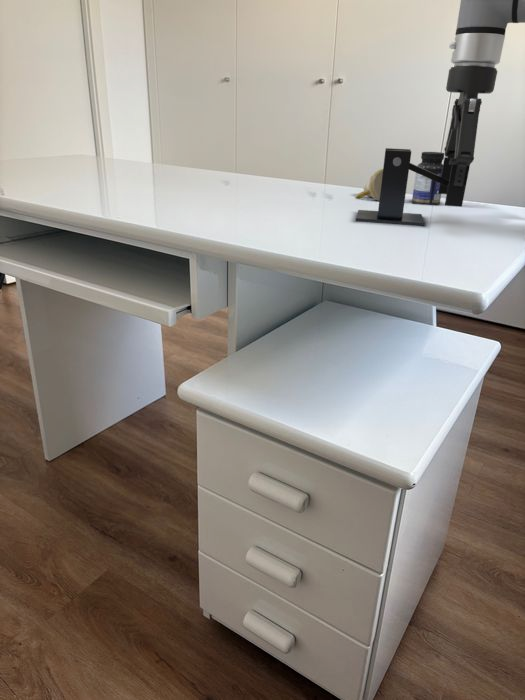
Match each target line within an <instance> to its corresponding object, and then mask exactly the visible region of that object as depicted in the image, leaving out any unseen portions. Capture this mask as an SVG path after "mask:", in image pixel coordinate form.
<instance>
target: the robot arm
mask: <svg viewBox="0 0 525 700" xmlns="http://www.w3.org/2000/svg"><path fill="white" fill-rule="evenodd" d="M458 9H459V10H458V17H457V22H456V30H455V36H454V41H451V42H450V43H449V46H448V47H449V49H451V50H453V51H452V52H451V59H450V62H451V64H453V66H451V67H450V69H449V70H448V75H447V80H446V86H445V90H446V91H447V92H448V93H457V94H458V93H459V96H458V98H455V100H454V102H453V106H452V109H451V119H450V124H449V125H450V126H449V129H448V134H447V138H446V139H447V140H446V143H445V147H444V148H443V151H444V159H443V162H442V164H443V169H442V175H441V177H443V178H445V179H447V180H449V184H448V187H447V186H445V185H443V184H440V186H439V192H438V193H439V194H441V195H446V196H445V201H444V206H447V207H458V208H459V207H460V208H462V207H463V203H464V197H465V193H466V187H467V182H468V179H469V178H468V177H469V173H470V167H471V164H472V163H473V162H474V159H475V157H474V156H475V149H476V141H477V132H478V124H479V116H480V112H481V105H482V102H483V101H482V98H479V94H483V95H485V94H489V95H490V94H492V93H493V92H494V91H495V86H496V80H497V76H498V69H497V68H496V65H498V64H500V63H501V57H502V53H503V48H504V43H505V40H506V39H505V38H506V30H507V27H508V24H522V23H523V24H525V0H460V4H459V8H458Z"/></svg>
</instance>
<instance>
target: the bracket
mask: <svg viewBox="0 0 525 700" xmlns="http://www.w3.org/2000/svg"><path fill="white" fill-rule="evenodd" d="M411 157H412V150H411V148H392V147H390V148H389V147H385V151H384V157H383V158H384V161H383V165H382V166H383V168H382V169H383V175H382V183H381V192H380V200H379V201H378V209H377V210H368V209H358V210H357V213H356V217H355V222H356V223H357V222H359V223H373V224H383V225H384V224H386V225H399V226H415V227H424V226H425V221H424V217H423V214H422V213H413V212H412V213H410V212H404V209H405V208H404V207H405V201H406V194H407V187H408V181H409V180H408V179H409V172H410V170H409V166H410V163H411Z"/></svg>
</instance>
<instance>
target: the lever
mask: <svg viewBox="0 0 525 700" xmlns="http://www.w3.org/2000/svg"><path fill="white" fill-rule="evenodd" d="M409 171H411V172H414V173H415V174H416V173H418V174H420V175H423V176H425V177H427V178H429V179H431V180H434V181H436V182H438V183H440V184H443V185H445V186H447V187H448V184H449V180H447V179H445V178H443V177H441V176H438V175H436V174H434V173H432V172H429V171H427V170H425V169H423V168H421V167H418V165H416V164H414V163H411V162H410V166H409Z"/></svg>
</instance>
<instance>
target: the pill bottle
mask: <svg viewBox="0 0 525 700" xmlns="http://www.w3.org/2000/svg"><path fill="white" fill-rule="evenodd" d="M420 155H421V156H420V159H421V162H419V163H418V164H417V166H418V167H421V168H423V169H425V170H427V171H429V172H432V173H434V174H436V175H438V176H441V175H442V169H443V161H444V158H445V152H441V151H422V152H421V154H420ZM439 186H440V183H438V182H436V181H434V180H431V179H429V178H427V177H425V176H423V175H420V174H418V173H416V172H415V176H414V184H413V190H412V198H411V204H412V205H421V206H422V205H423V206H437V207H438V206H440V204H441V200H442V199H441V198H442V194H439V193H438V192H439Z"/></svg>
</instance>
